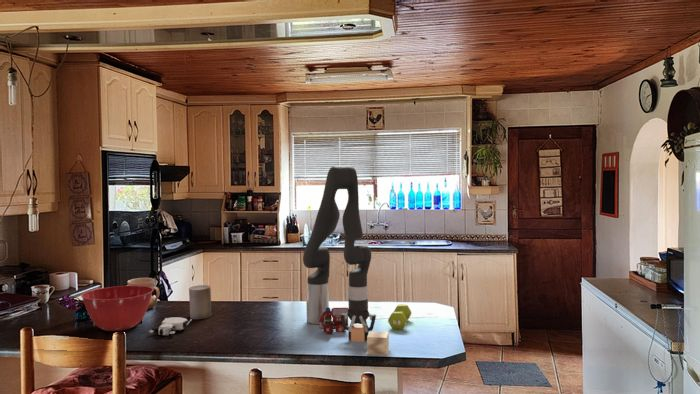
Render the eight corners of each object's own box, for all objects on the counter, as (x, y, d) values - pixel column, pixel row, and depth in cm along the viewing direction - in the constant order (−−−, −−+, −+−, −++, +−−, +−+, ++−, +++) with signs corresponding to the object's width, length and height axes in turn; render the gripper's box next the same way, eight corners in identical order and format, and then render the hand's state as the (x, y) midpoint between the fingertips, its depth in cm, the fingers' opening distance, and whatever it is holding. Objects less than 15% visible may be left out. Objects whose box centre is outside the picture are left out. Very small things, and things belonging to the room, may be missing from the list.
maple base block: (367, 353, 191) (367, 337, 190) (369, 347, 198) (369, 331, 197) (386, 354, 190) (386, 337, 189) (388, 348, 196) (388, 331, 196)
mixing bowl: (111, 316, 249) (110, 283, 248) (166, 319, 243) (165, 285, 242) (67, 334, 221) (65, 297, 220) (129, 338, 215) (127, 300, 214)
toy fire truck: (320, 329, 225) (320, 304, 224) (350, 329, 224) (349, 305, 223) (318, 334, 218) (317, 309, 217) (348, 334, 217) (348, 309, 216)
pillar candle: (215, 314, 251) (214, 282, 250) (205, 319, 241) (204, 286, 240) (195, 313, 252) (194, 282, 252) (185, 319, 243) (184, 286, 242)
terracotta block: (351, 344, 205) (350, 328, 205) (353, 340, 210) (353, 324, 210) (364, 344, 204) (363, 329, 204) (365, 340, 209) (365, 325, 209)
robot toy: (174, 340, 215) (193, 327, 230) (173, 329, 215) (192, 316, 229) (147, 338, 218) (167, 325, 232) (146, 328, 217) (166, 315, 232)
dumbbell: (406, 331, 221) (406, 313, 221) (387, 329, 223) (387, 312, 223) (412, 320, 237) (412, 304, 237) (394, 319, 239) (394, 303, 239)
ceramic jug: (116, 311, 258) (116, 282, 257) (135, 303, 272) (134, 276, 271) (150, 314, 254) (149, 284, 253) (167, 306, 268) (166, 278, 267)
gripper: (338, 299, 204) (338, 343, 204) (375, 300, 201) (375, 344, 202) (341, 294, 211) (342, 337, 212) (377, 295, 209) (378, 338, 209)
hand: (358, 340), depth 207 cm, fingers closed on terracotta block, 5 cm apart
